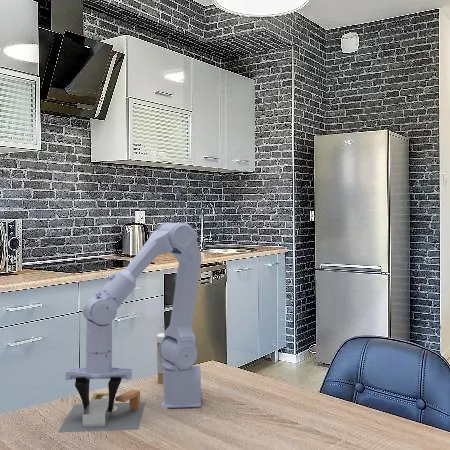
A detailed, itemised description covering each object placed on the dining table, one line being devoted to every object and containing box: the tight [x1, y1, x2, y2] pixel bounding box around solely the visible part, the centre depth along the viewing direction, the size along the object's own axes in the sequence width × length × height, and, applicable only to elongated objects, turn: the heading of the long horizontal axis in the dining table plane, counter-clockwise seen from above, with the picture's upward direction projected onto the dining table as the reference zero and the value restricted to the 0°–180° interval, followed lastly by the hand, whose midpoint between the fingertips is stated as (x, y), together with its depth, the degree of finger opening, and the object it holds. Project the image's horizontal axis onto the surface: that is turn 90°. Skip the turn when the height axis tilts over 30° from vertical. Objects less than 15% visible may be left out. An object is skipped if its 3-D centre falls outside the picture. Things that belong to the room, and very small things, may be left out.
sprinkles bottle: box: [155, 332, 164, 385], centre depth 151 cm, size 5×5×13 cm
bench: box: [57, 396, 146, 433], centre depth 126 cm, size 17×17×3 cm
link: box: [82, 392, 114, 428], centre depth 126 cm, size 13×5×3 cm, turn 3°
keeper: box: [114, 389, 141, 410], centre depth 128 cm, size 6×2×5 cm, turn 153°
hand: (98, 410), depth 125 cm, fingers closed on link, 5 cm apart
